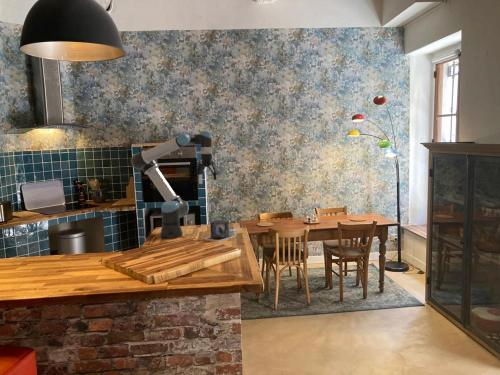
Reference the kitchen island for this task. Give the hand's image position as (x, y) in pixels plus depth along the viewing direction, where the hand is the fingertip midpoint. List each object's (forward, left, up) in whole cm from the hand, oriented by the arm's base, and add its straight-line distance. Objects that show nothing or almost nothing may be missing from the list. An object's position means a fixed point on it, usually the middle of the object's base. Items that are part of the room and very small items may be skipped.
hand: (207, 184), depth 285 cm
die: (+20, +3, -35) cm, 40 cm away
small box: (+18, -8, -34) cm, 39 cm away
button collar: (+11, +5, -35) cm, 36 cm away
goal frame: (+18, -8, -35) cm, 40 cm away
